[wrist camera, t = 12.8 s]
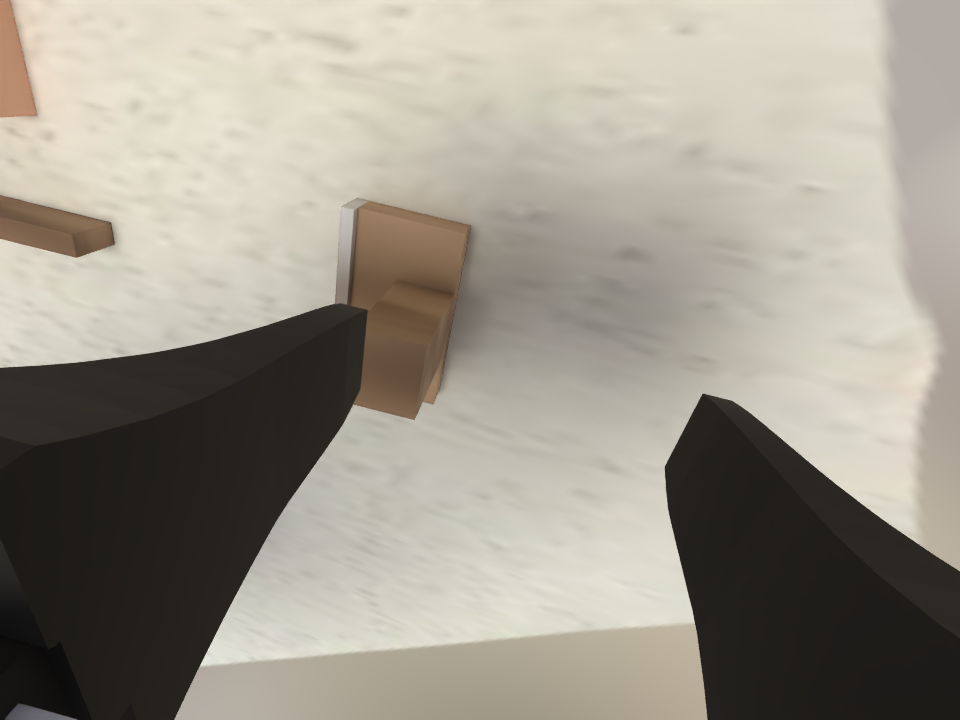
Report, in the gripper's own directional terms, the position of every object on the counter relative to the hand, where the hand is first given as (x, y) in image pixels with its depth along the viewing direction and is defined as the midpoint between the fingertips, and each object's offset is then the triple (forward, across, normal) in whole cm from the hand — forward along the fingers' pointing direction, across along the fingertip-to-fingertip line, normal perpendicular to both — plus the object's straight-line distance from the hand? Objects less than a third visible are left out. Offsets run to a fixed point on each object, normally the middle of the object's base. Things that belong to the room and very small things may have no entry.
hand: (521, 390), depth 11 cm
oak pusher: (+11, +5, +4) cm, 13 cm away
